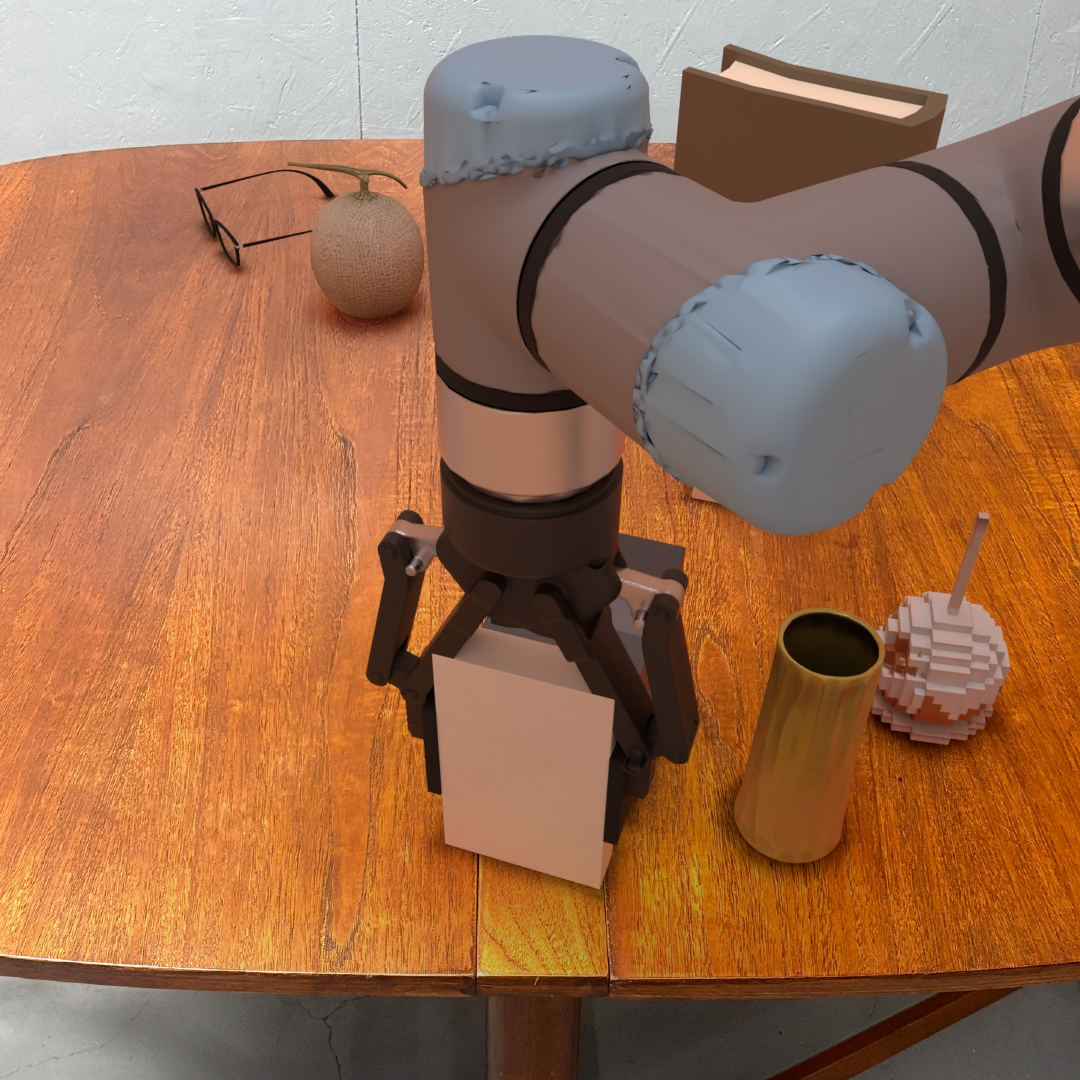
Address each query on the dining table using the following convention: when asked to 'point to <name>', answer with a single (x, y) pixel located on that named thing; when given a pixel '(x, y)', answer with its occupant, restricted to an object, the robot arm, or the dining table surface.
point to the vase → (809, 734)
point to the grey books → (641, 558)
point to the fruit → (366, 249)
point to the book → (794, 125)
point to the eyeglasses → (216, 225)
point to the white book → (523, 756)
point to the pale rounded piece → (942, 660)
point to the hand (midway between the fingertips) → (528, 798)
